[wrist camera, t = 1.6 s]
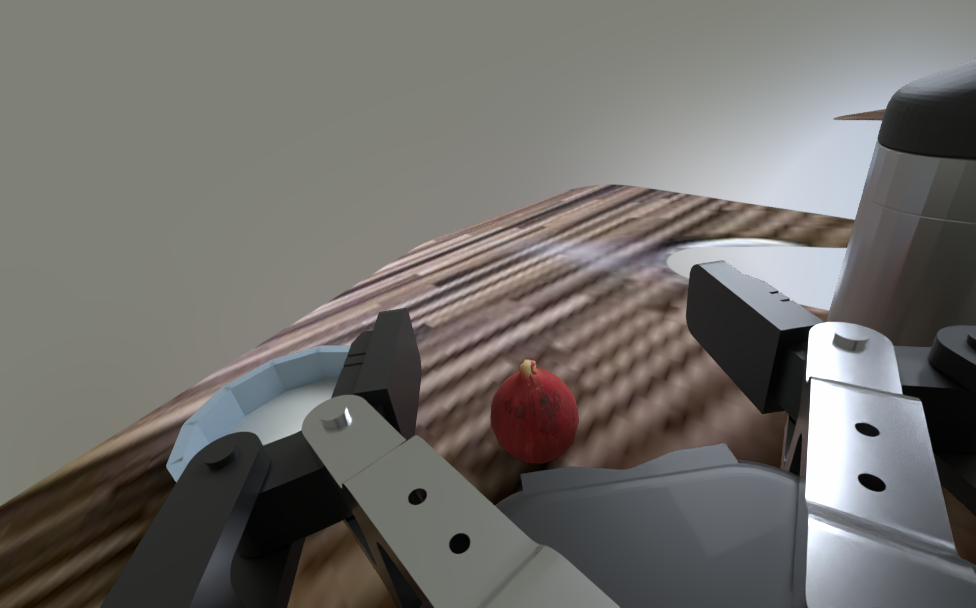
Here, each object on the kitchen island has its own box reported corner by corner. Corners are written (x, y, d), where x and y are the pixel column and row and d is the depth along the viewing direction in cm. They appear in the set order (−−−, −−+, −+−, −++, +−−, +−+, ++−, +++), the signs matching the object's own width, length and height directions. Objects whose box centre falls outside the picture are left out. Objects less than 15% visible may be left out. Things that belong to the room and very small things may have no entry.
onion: (596, 471, 29) (593, 377, 25) (515, 502, 28) (500, 408, 24) (557, 415, 34) (550, 329, 30) (487, 439, 33) (470, 353, 29)
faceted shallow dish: (392, 361, 43) (382, 327, 41) (426, 485, 30) (413, 443, 28) (220, 414, 40) (200, 380, 38) (169, 583, 26) (134, 543, 24)
